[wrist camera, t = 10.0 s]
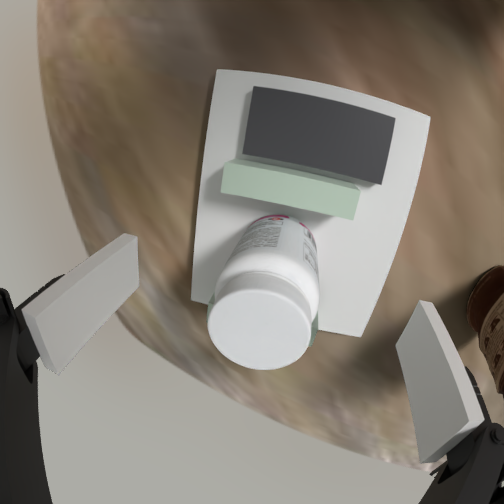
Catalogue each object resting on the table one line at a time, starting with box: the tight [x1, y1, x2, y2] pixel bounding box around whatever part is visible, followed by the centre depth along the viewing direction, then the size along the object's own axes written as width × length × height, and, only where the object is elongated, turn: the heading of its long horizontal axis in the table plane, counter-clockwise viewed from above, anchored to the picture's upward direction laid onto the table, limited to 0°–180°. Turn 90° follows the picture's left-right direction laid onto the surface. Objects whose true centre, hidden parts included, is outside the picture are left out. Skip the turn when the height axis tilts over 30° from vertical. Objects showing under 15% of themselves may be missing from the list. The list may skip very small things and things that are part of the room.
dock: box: [191, 69, 431, 346], centre depth 16 cm, size 16×13×4 cm
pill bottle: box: [208, 214, 320, 370], centre depth 14 cm, size 5×5×8 cm
